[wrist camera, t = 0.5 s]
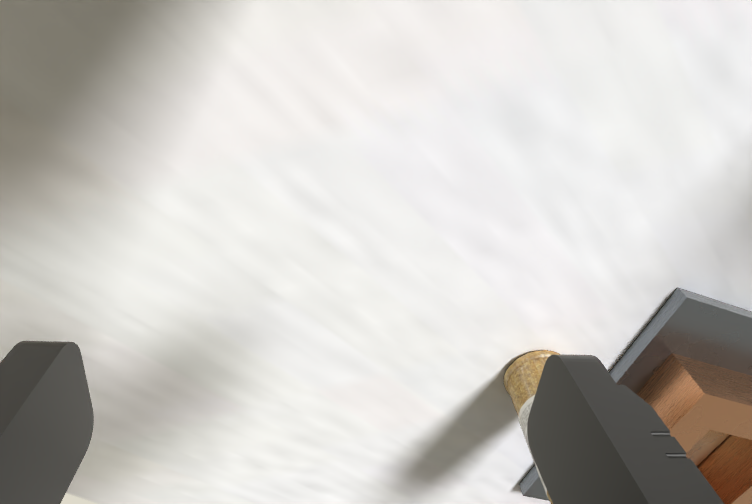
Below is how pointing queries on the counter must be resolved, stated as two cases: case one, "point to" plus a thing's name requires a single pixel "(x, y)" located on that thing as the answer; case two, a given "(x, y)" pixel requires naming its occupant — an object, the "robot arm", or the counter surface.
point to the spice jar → (526, 388)
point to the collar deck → (682, 337)
